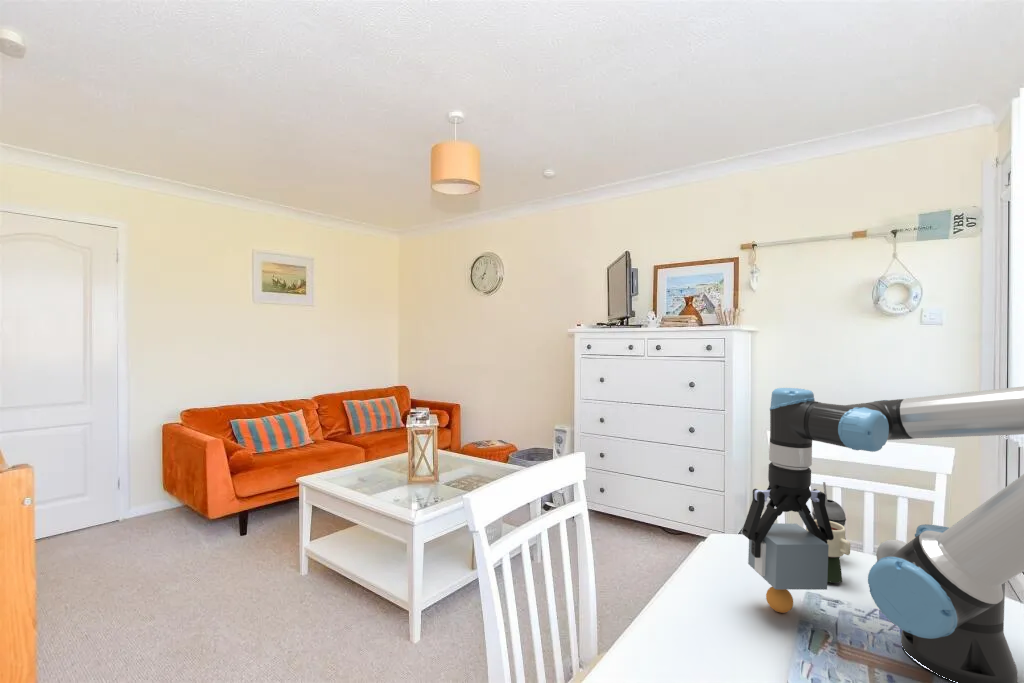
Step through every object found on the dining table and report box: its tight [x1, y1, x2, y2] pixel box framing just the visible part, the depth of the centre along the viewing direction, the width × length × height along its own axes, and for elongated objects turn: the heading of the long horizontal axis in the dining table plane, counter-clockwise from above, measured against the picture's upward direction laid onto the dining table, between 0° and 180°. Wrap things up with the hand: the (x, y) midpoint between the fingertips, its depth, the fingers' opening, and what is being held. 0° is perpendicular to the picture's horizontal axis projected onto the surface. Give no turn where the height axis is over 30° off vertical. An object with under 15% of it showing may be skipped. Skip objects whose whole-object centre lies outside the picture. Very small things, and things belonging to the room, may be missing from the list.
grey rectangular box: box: [747, 522, 829, 591], centre depth 99 cm, size 10×10×9 cm
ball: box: [765, 586, 794, 614], centre depth 101 cm, size 5×5×5 cm
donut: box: [876, 539, 908, 562], centre depth 113 cm, size 10×3×10 cm, turn 18°
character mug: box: [805, 520, 851, 583], centre depth 115 cm, size 11×7×13 cm, turn 19°
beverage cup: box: [811, 481, 847, 559], centre depth 124 cm, size 7×7×20 cm
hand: (786, 572), depth 99 cm, fingers closed on grey rectangular box, 10 cm apart
